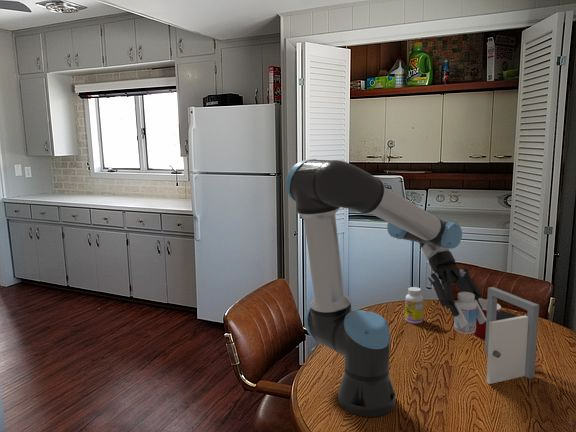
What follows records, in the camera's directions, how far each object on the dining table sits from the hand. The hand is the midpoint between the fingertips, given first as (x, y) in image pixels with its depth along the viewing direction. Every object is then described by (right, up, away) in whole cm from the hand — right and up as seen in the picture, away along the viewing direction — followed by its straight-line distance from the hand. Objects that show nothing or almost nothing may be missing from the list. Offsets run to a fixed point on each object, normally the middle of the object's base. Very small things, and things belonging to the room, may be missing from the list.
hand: (474, 324), depth 129 cm
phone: (+28, -9, +44) cm, 53 cm away
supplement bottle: (-5, -10, +44) cm, 45 cm away
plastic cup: (+15, -11, +30) cm, 35 cm away
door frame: (+14, -14, +9) cm, 22 cm away
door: (+9, -16, -1) cm, 18 cm away
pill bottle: (-1, -3, +4) cm, 5 cm away
